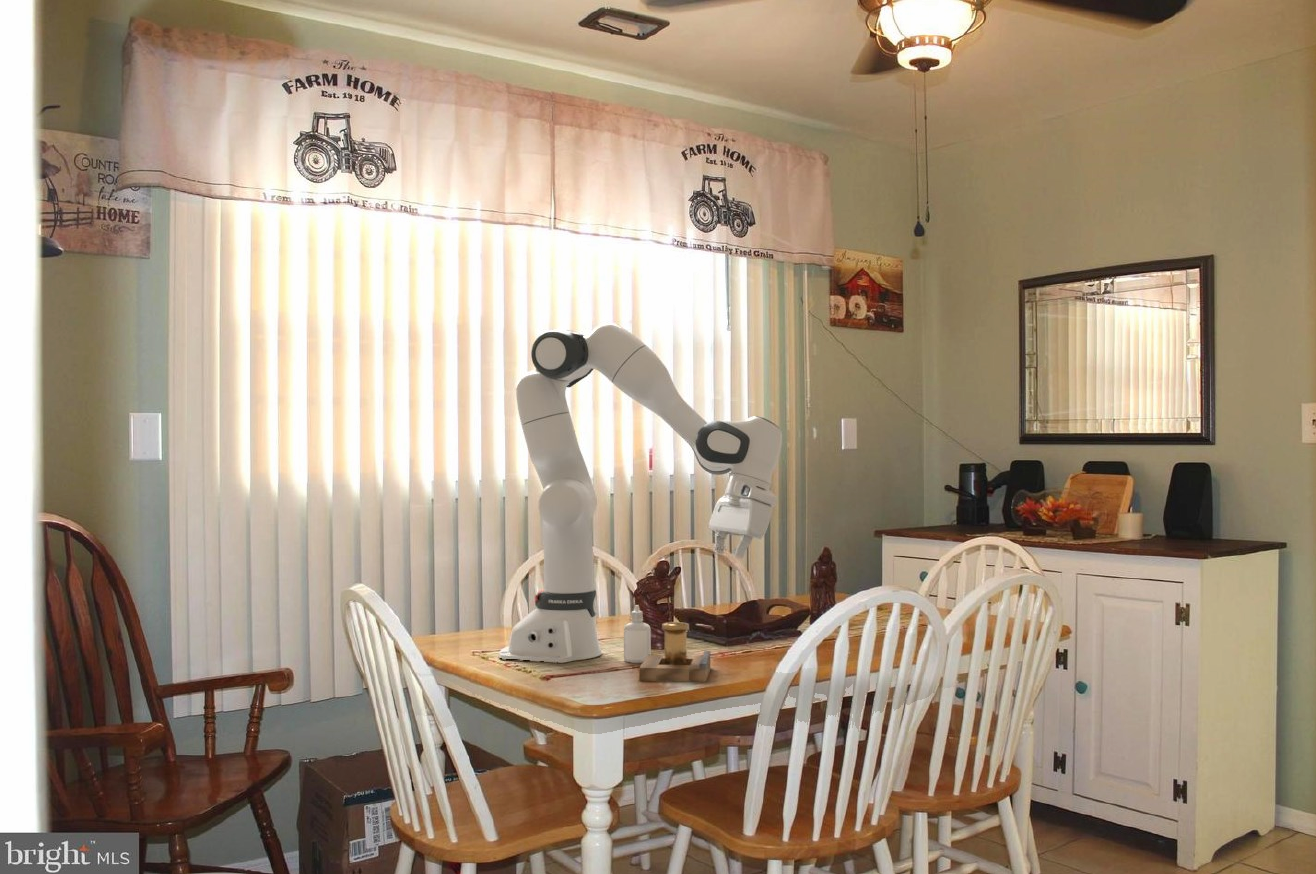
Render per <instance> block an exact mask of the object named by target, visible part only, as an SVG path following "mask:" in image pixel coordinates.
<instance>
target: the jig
mask: <svg viewBox="0 0 1316 874" xmlns="http://www.w3.org/2000/svg"><path fill="white" fill-rule="evenodd" d="M638 670H639V677H638V678H639V681H641V682H642V681H643V682H644V681H646V682H685V683H686V682H687V683H689V682H692V683H693V682H695V683H696V682H698V683H706V682H707V680H708V677H709V674H710V671H711V651H710V650H704V651H703V654H702V655H687V665H665V654H663V655H662V654H661V655H660V654H651V655H648V656H647V657H646V659H645V660H644V662H643V663H641V665H640V666H639V669H638Z"/></svg>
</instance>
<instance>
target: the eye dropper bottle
mask: <svg viewBox="0 0 1316 874" xmlns="http://www.w3.org/2000/svg"><path fill="white" fill-rule="evenodd" d="M630 613H631V622H628V623H627V624H625V625H624V627H623V661H624V662H625V663H629V662H630V663H631V664H642V663H643V662H644V660H645V659H646V657H647V656H648V655H652V651H651V649H652V646H651V645H652V644H651V643H652V642H651V641H652V640H651V637H652V635H651V631H652V630H651V626H650V625H649V624H648V623H646V622H643V621H644V617H643V614H644V612H643V611H642V610H641V609H640V605H639V604H636V605H635V606H634V609H633V611H631V612H630Z"/></svg>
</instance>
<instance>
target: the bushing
mask: <svg viewBox="0 0 1316 874" xmlns="http://www.w3.org/2000/svg"><path fill="white" fill-rule="evenodd" d="M661 630H662V631H664V655H665V665H687V656H688V655H687V652H688V651H687V648H688V647H687V645H688V643H687V641H688V640H687V631H689V630H690V623H687V622H680V621H668V622H664V623H662V624H661Z"/></svg>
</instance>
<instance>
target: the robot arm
mask: <svg viewBox="0 0 1316 874" xmlns="http://www.w3.org/2000/svg"><path fill="white" fill-rule="evenodd" d="M530 356H531V361H532V365H533V366H534V367H535V369H534V370H531V371H528V372H527V373H526V372H525V374H524V375H522V376H520V377H519V379H518V380H517V382H516V385H515V395H516V404H517V410H518V415H519V421H520V425H521V428H522V431H523V432H522V433H523V436H524V440H525V442H526V445H527V450H528V454H529V457H530V461H531V462H532V464H533V467H534V469H535V471H536V473H537V474H536V475H537V476H538V479H539V481H540V484H541V486H542V489H543V490H542V491H541V493H540V496H539V499H538V511H539V524H540V536H541V542H542V549H543V550H542V551H543V589H541V590H539V591H537V594H535V596H534V603H535V608H534V609H533V610H531V611H530V612H529V613H528V614H526V615H525V616H524V617H523V618H522V619H521V620H519V621H518V622H517V623H516V624H515V625H514V626H513V628H512V629H511V632H510V634H509V635H510V637H509V642H508V643H509V644H508V645H507V646H505V647H503V648H501V649H500V651H499V652H498V658H499V659H500V658H502V659H501V660H506V659H520V660H519V661H523V660H530V661H529V662H540V661H544V662H543V663H557V662H558V664H559V663H560V664H563V663H568V662H572V661H580V660H587V659H592V658H597V657H599V656H601V655H602V654H603V653H602V649H601V646H600V641H599V637H598V635H599V634H598V629H597V622H596V615H597V608H598V606H597V604H598V603H597V601H598V600H597V591H596V589H595V560H594V559H595V554H594V547H593V539H592V538H593V537H592V528H591V519H592V517H593V516H594V514H595V513H596V509H597V505H598V500H597V495H596V491H595V489H594V486H593V485H594V484H593V482H592V479H591V476H590V473H589V470H588V467H587V465H586V462H585V459H584V457H583V454H582V451H581V449H580V448H581V447H580V445H579V442H578V438H577V434H576V430H575V428H574V424H573V420H572V419H573V418H572V417H571V412H570V409H569V407H568V406H569V405H568V402H567V398H566V390H567V388H572V387H573V386H574V385H576V384H577V383H579V382H580V381H582V380H583V379H585V378H586V377H588V376H589V375H591V374H592V372H593V371H594V370H596V371H597V372H599V373H601V374H602V375H603V376H604V377H606V378H607V380H609V381H610V382H611V383H612V384H613V385H614V386H616V388H618V389H619V390H620V391H621V392H622V393H624V394H625V395H627V396H628V397H629V398H631V399H632V400H634V401H635V402H636V403H638V404H640V405H641V406H643V407H645V408H646V409H648V410H649V411H651V412H653V413H654V414H655V415H657V416H658V417H660V418H661V419H662V420H663V421H664V422H666V423H667V424H668V425H669V426H670V428H671V429H672V430H674V431H675V433H677V434H678V435H679V436H680V437H681V438H682V439H683V440H684V441H686V443H687V444H688V445H689V446H690V448H691V450H692V451H693V454H694V455H695V458H696V460H697V462H698V465H699V466H700V467H701V468H702V469H703V470H704V471H705V472H707V473H709V474H711V475H718V476H720V475H721V476H723V475H726V474H728V473H730V475H729V477H728V481H727V483H726V484H727V485H726V488H725V491H724V495H722V496H721V497H720V498H719V499H718V500H717V502H716V504H715V506H714V508H713V512H712V513H711V516H710V519H709V523H708V528H709V529H710V530H711V531H714V532H715V534H714V547H713V552H714V553H716V554H719V555H724V552H725V549H726V546H725V539H727V537H728V535H731V536H732V535H733V536H738V537H739V542H738V545H736V547H734V550H733V553H732V555H733V557H735V558H739V559H743V558H744V556H745V552H746V551H747V549H748V548H749V546H750V545H751V543H752V540H753V539H756V540H757V539H758V540H762V539H763V538H764V536H765V534H766V532H767V530H768V527H769V524H770V521H771V518H772V514H773V507H775V506H776V505H777V502H778V496H776V495H775V494H774V493H773V492H772V491H771V490H770V488H771V484H772V475H773V472H774V471H775V469H776V467H777V464H778V461H779V458H780V454H781V450H782V445H783V433H782V430H781V429H780V427H779V426H778V425H777V424H775V423H774V422H772V421H770V420H769V419H767V418H764V417H761V416H758V415H752V416H750V417H748V418H745V419H739V420H731V421H729V420H728V421H724V420H723V421H722V420H721V421H720V420H713V421H710V422H707V421H706V420H705V419H704V418H703V417H702V416H701V415H700V414H699V413H698V412H697V411H696V410H694V409H693V407H692V406H690V404H689V403H687V402H686V401H685V400H684V399H683V397H682V396H681V395H680V393H679V392H678V390H677V388H676V386H675V384H674V382H673V379H672V377H671V374H670V371H669V370H668V369H667V366H666V365H665V363H663V361H662V360H661V358H660V357H658V355H657V354H656V353H655V352H654V351H653V350H652V349H651V348H650V347H649V346H648V345H646V344H645V343H644V342H643V341H642V340H641V339H639V338H638V337H637V336H636V335H634V334H632V333H631V332H630V331H628V330H626V329H625V328H623V326H621V325H619V324H617V323H615V322H610V321H609V322H603V323H601V324H599V325H597V326H596V327H595V328H594V329H592V331H590V333H589V334H587V335H583V334H581V333H579V332H578V333H577V332H576V331H572V330H567V329H551V330H547V331H545V332H543V333H542V334H540V335H539V336H538V337H537V338H536V339H535V340H534V342H533V344H532V347H531V352H530Z"/></svg>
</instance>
